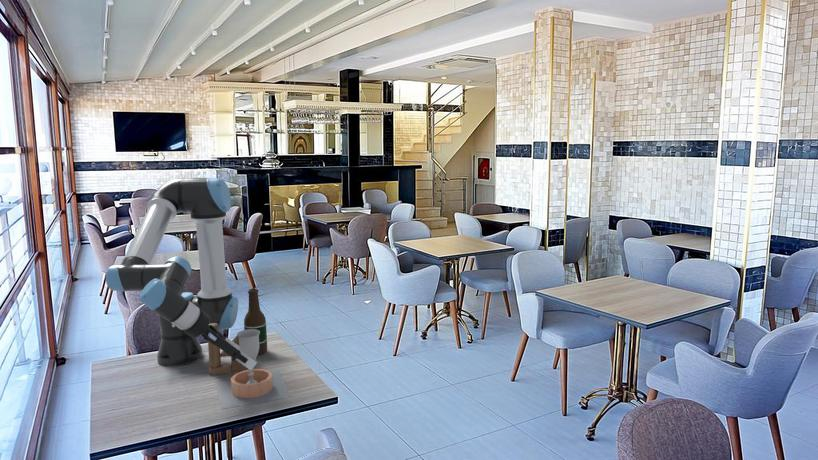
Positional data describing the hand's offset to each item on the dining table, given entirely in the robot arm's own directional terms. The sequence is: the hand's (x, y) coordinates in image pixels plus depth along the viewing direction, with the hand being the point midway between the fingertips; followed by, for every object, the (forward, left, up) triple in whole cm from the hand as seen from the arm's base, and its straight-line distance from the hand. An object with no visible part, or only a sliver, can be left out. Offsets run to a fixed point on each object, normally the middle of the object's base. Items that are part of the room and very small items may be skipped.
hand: (246, 359), depth 169 cm
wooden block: (-18, -5, -12) cm, 23 cm away
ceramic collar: (0, +1, -10) cm, 10 cm away
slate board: (0, +1, -12) cm, 12 cm away
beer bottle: (-35, +7, -12) cm, 38 cm away
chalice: (0, +1, -10) cm, 10 cm away
